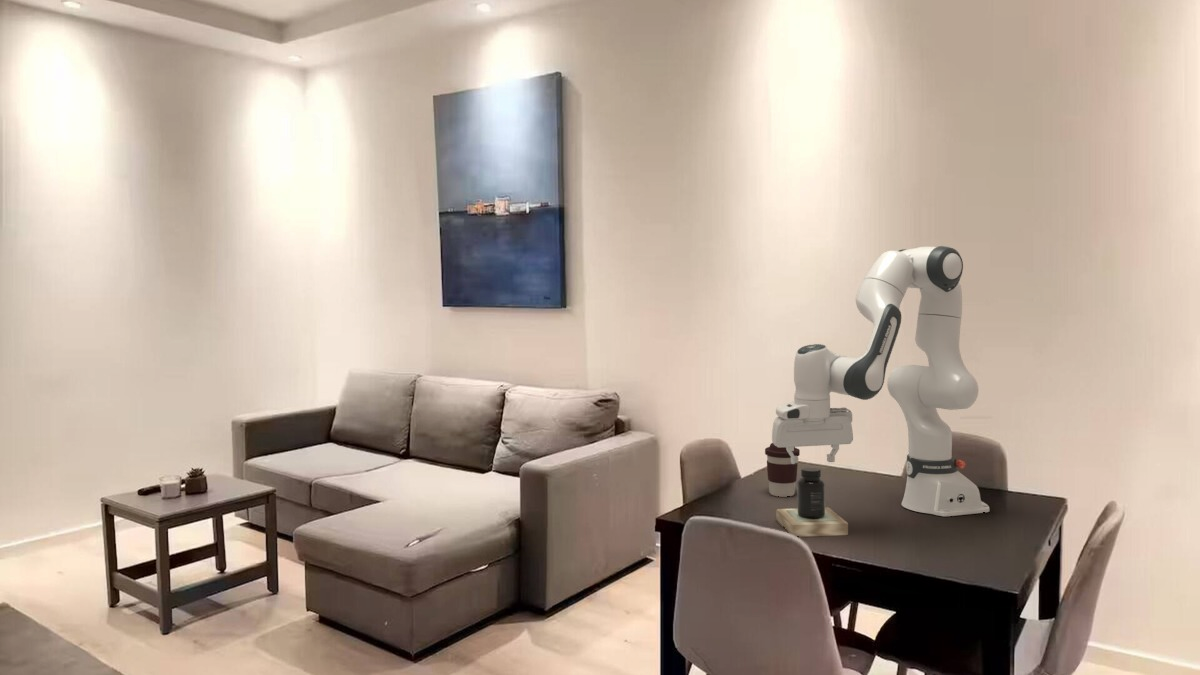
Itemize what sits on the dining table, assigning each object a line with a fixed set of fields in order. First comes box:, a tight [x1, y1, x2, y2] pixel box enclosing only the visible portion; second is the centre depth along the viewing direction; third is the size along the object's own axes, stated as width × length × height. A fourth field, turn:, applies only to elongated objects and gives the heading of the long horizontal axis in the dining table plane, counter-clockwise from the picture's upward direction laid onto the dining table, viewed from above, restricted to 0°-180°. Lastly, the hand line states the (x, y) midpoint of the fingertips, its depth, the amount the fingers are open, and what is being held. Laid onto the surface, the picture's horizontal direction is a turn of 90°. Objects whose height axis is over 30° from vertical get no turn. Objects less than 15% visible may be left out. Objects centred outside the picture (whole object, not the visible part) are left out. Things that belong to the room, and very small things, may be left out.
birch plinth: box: [775, 506, 849, 538], centre depth 211 cm, size 14×14×3 cm
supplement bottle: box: [796, 467, 826, 519], centre depth 210 cm, size 7×7×12 cm
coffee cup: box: [764, 442, 800, 498], centre depth 243 cm, size 10×10×15 cm
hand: (812, 462), depth 210 cm, fingers open, 8 cm apart
